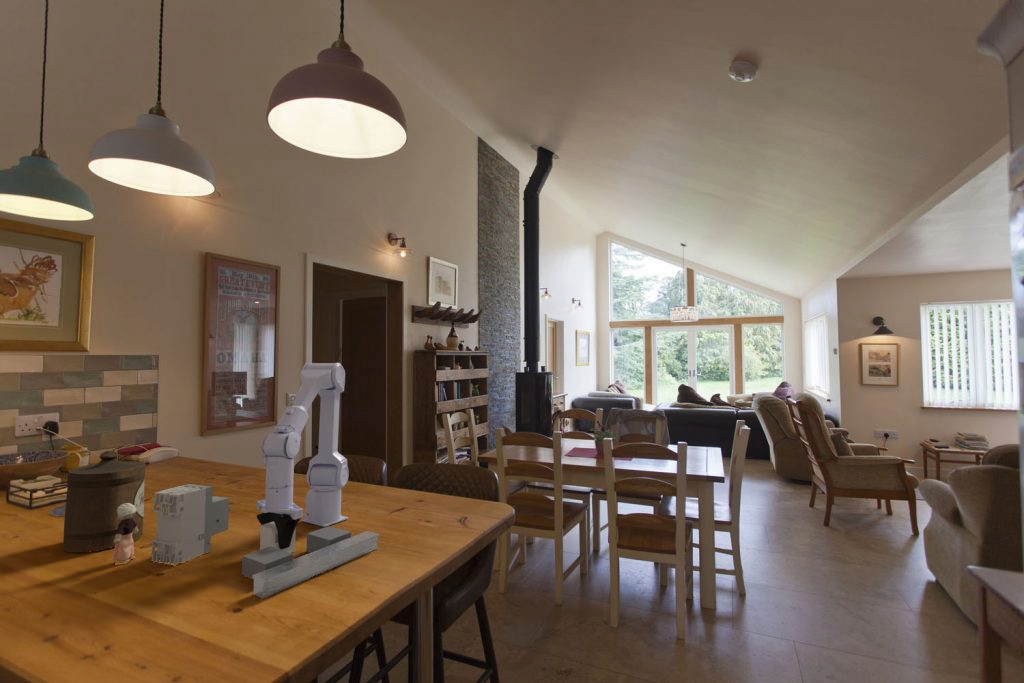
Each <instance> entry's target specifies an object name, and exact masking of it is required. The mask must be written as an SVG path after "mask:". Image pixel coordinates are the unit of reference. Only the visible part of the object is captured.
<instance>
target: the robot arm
mask: <svg viewBox="0 0 1024 683" xmlns="http://www.w3.org/2000/svg"><path fill="white" fill-rule="evenodd" d="M300 382H301V385H300V388H299V390H298V392H297V394H296V397H295V399H294V401H293V404H292V405H291V406H288V407H286V409H284V412H283V414H282V415H281V416H280V419H279V421H278V422H277V424H276V426H275V428H274V430H273V432H271V433H269V434H268V435H265V437H264V439H263V440H262V441H261V442H262V443H261V446H260V453H261V455H262V457H263V466H265V467H266V468H265V470H266V471H265V498H264V499H261V500H257V501H256V511H260V512H261V513H258V514H257V515H256V518H257V520H258V522H259V524H260V526H261V525H264V524H267V523H270V522H274V523H275V525H276V528H277V532H278V542H279V548H280V549H281V550H282V549H285V548H288V547H290V543H291V540H292V536H293V533H294V530H295V528H297V526H298V524H299V522H300V520H301V519H302V520H301V521H302V522H304V523H307V524H313V525H315V526H319V527H322V528H325V527H328V526H331V525H334V524H337V523H340V522H343V521H346V520H348V519H349V517H348V516H344V515H342V488H344V487H345V485H347V483H348V481H349V473H350V472H349V471H350V470H349V466H348V459H347V457H345V456H344V455H342V454H341V453H339V452H338V447H339V425H340V424H339V422H340V401H341V400H340V399H341V398H340V397H341V396H340V395H341V394H342V393H343V392H344V391H345V385H346V370H345V369H344V367H343V365H342V364H341V363H340V362H335V363H334V362H333V363H332V362H330V363H329V362H327V363H326V362H323V363H321V362H319V363H317V362H312V363H311V362H306V363H305V364H304V365H303V366H302V369H301V371H300ZM317 395H318V396H319V397H320V409H319V425H318V426H319V427H318V428H319V431H318V451H317V452H318V453H317V454H316V455H315V456H313V457H312V458H311V459H310V460H309V462H308V468H307V469H308V470H307V472H306V482H307V485H308V486H309V487H310V489H309V490H308V491H307V493H306V496H305V513H304V514H305V516H304V514H303V512H304V508H303V507H302V508H301V507H299V506H298V505H297V504H296V503H295V502H294V473H295V472H294V467H295V465H294V464H295V457H296V456H297V455H298V453H299V451H300V446H301V440H302V436H301V434H302V432H303V430H304V428H305V426H306V424H307V422H308V420H309V417H310V416H309V413H308V410H309V408H310V406H312V403H313V402H314V400H315V398H316V397H317ZM304 517H305V518H304Z"/></svg>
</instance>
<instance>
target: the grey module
mask: <svg viewBox="0 0 1024 683" xmlns="http://www.w3.org/2000/svg"><path fill="white" fill-rule="evenodd" d="M296 528H297V527H296ZM296 528H295V530H294V533H293V536H292V540H291V543H290V547H288V548H285V549H282V550H283V551H286V552H289V553H292V552H293V553H295V552H296V530H297V529H296ZM259 533H260V536H259V541H260V542H259V550H261V549H264V548H267V547H270V546H271V547H274V548H277V549H280V548H279V542H278V532H277V528H276V525H275V523H274V522H270V523H267V524H264V525H261V524H260V531H259ZM280 550H281V549H280ZM293 553H292V554H293Z"/></svg>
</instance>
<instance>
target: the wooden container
mask: <svg viewBox="0 0 1024 683" xmlns="http://www.w3.org/2000/svg"><path fill="white" fill-rule="evenodd" d="M118 457H119V455H118V453H117V452H116V451H115V450H105V451H104V452H102V453H100V454H99V458H100V459H101V460H100V461H99V462H98V463H95V464H88V465H83V466H79V467H78V466H77V467H74V468H72V469H70V470H68V474H67V482H66V483H67V487H66V498H65V509H64V520H63V521H64V522H63V539H62V541H63V542H62V543H63V544H62V550H63V551H64V552H67V553H71V552H87V553H90V552H89V551H96V552H98V551H97V550H102V549H107V548H110V547H115V545H116V543H114V540H115V536H116V531H117V529H118V525H119V523H120V522H121V521H122V520H120V519H119V518H118V512H117V509H118V507H119V506H120V505H122V504H125V503H130V504H132V505H134V506H135V508H136V512H135V513H134V514H133V515H132V517H131V518H133V520H134V521H135V523H136V524H137V529H138V532H137V533H132V538H133V542H135V541H137V540H139V539H140V538H141V537H143V530H144V529H143V528H144V512H145V476H146V462H144V461H136V460H135V461H134V460H133V461H132V460H129V461H128V460H127V461H119V459H117V458H118ZM138 538H139V539H138ZM134 540H135V541H134ZM107 550H108V549H107ZM102 551H103V550H102Z"/></svg>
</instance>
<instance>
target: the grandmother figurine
mask: <svg viewBox="0 0 1024 683" xmlns="http://www.w3.org/2000/svg"><path fill="white" fill-rule="evenodd" d="M117 512H118V518H119V519H120V520H122V521H121V522H120V523H119V525H118V529H117V531H116V536H115V540H114V543H116V545H115V548H113V549H114V550H113V555H112V561H115V562H114V563H125V562H129V561H130V562H131V560H128V559H132V558H135V559H136V557H135V556H134V554H135V546H134V545H135V544H134V542H135V541H133V538H132V533H137V532H138V529H137V524H136V523H135V521H134V520H133V518H131V517H132V515H133V514H134V513H135V512H136V508H135V506H134V505H132V504H130V503H125V504H122V505H120V506H119V507H118V509H117Z"/></svg>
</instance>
